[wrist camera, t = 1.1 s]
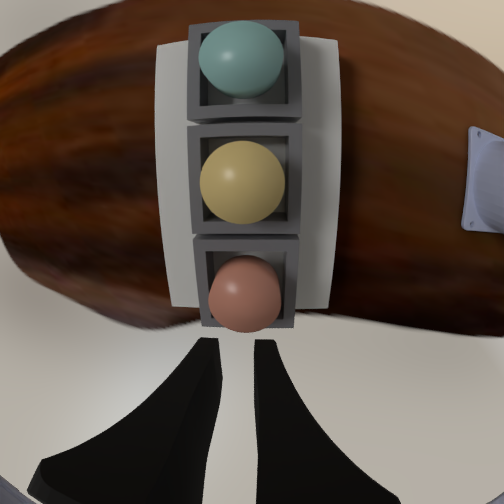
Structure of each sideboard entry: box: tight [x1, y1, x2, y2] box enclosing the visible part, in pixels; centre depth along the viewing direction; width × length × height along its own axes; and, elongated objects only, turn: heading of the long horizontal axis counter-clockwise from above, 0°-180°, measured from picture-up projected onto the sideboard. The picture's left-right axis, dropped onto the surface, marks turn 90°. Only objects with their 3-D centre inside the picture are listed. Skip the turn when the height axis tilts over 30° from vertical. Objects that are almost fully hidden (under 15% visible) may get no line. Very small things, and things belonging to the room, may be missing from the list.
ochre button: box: [200, 141, 285, 224], centre depth 11 cm, size 3×3×2 cm
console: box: [155, 20, 341, 328], centre depth 14 cm, size 10×16×4 cm, turn 1°
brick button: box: [208, 255, 281, 333], centre depth 13 cm, size 3×3×2 cm
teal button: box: [199, 21, 284, 99], centre depth 10 cm, size 3×3×2 cm
